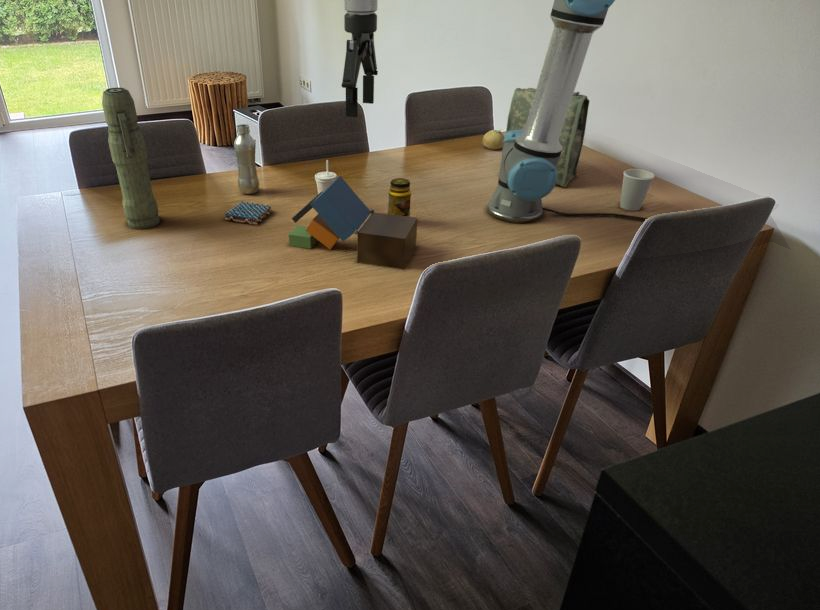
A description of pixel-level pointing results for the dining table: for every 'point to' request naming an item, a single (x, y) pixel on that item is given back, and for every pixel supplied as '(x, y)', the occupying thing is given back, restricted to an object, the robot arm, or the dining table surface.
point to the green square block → (301, 237)
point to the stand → (386, 240)
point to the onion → (493, 139)
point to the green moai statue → (129, 158)
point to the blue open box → (338, 209)
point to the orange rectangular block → (322, 232)
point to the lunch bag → (569, 135)
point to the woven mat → (248, 213)
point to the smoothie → (324, 179)
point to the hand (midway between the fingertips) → (360, 109)
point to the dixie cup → (635, 188)
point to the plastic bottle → (246, 160)
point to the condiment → (399, 197)
